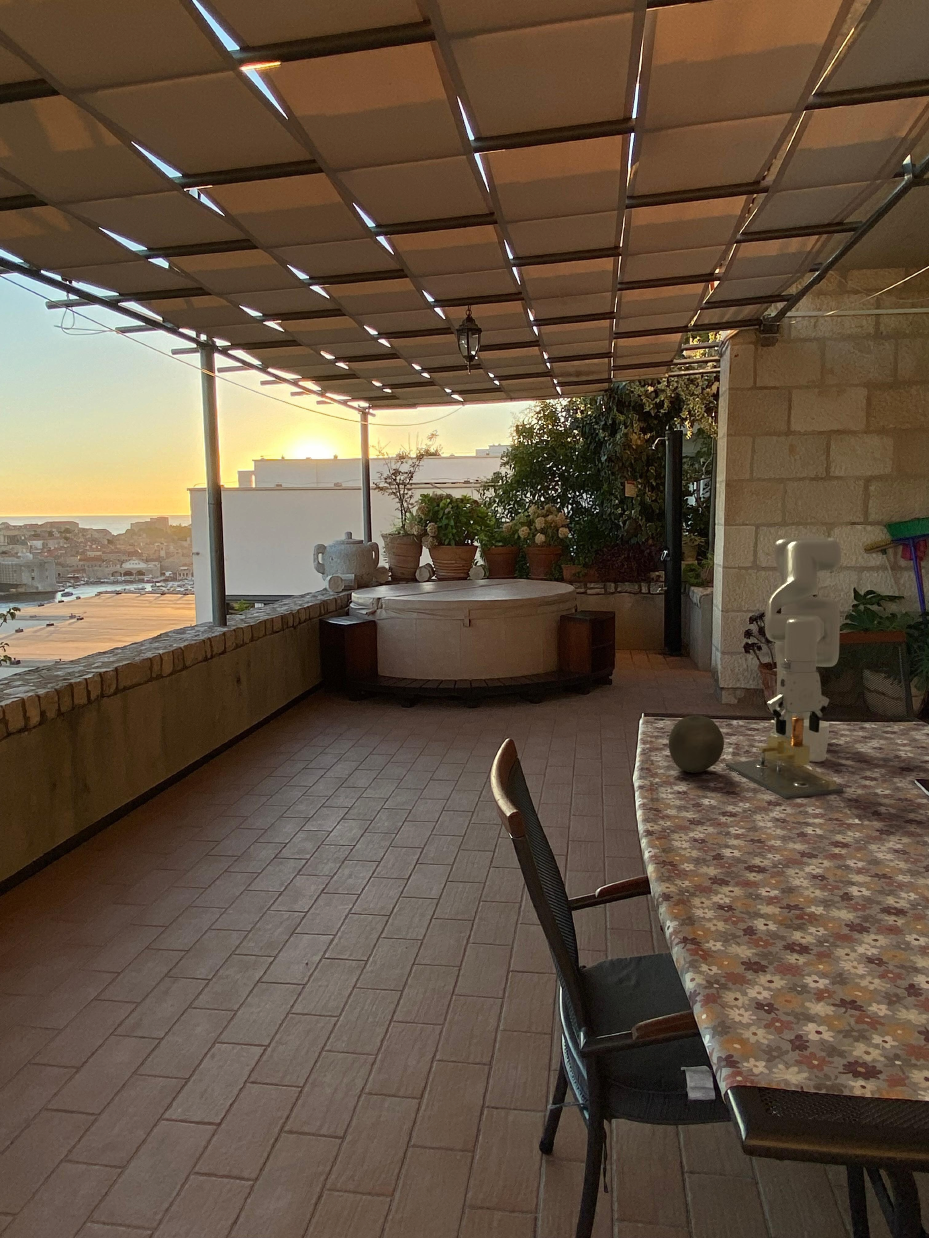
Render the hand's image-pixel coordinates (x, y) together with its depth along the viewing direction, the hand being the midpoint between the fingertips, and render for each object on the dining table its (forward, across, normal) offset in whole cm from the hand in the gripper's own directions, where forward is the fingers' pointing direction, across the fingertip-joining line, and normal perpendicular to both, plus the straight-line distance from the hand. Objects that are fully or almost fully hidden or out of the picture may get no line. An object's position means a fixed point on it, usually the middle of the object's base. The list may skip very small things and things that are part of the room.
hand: (797, 732), depth 213 cm
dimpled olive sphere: (+12, -23, +10) cm, 28 cm away
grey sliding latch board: (+12, -5, -1) cm, 12 cm away
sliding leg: (+10, -2, 0) cm, 10 cm away
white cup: (+12, +14, +12) cm, 22 cm away
